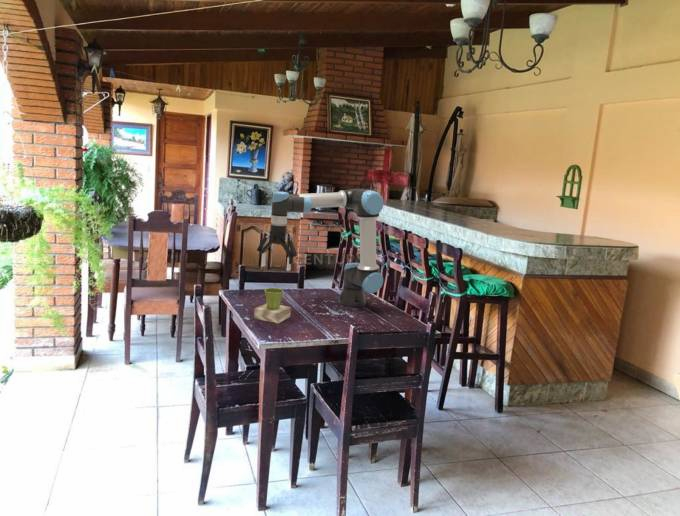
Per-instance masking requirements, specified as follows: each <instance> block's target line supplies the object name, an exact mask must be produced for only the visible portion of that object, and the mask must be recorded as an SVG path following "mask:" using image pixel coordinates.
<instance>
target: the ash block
mask: <svg viewBox="0 0 680 516" xmlns="http://www.w3.org/2000/svg"><path fill="white" fill-rule="evenodd" d="M291 309H292V307H291V306H287V305H282V304H280V307H279V309H269V308H268V307H267V303H266V302H265V303H264V304H261V305H259V306H257V307H255V308H254V312H253V313H254V314H253V319H255V320H259V321H265V322H268V323H273V322H274V324H280V323H282V322H283V321H285V320H288V319H289V318H291V312H292V311H291Z"/></svg>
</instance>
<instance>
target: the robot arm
mask: <svg viewBox="0 0 680 516" xmlns="http://www.w3.org/2000/svg"><path fill="white" fill-rule="evenodd" d="M338 207H339V208H340V209H349V210H354V211H356V217H357V219H358V220H359V262H348V263H345V265H344V268H343V272H344V273H343V284H342V285H343V286H342V290H341V292H340V295H339V296H338V301H337V302H338V304H339V305H343V306H346V307H352V308H353V307H355V308H357V307H358V308H359V307H361V308H362V307H364V306H366V297H365V293H368V294H374V293H377V292H378V291H379V290H380V289H381V288H382V287H383V284H384V277H383V275H382V274H381V273H380V266H379V265H378V264H377V219H378V218H379V217H380V213H381V212H382V210H383V209H384V198H383V197H382V195H381V194H380V193H379V192H377V191H374V190H370V189H363V188H353V189H341V190H339V191H337V192H317V193H315V192H314V193H313V192H311V193H308V192H307V193H289V192H286V191H273V193H272V199H271V213H270V214H271V216H270V223H271V224H270V227H269V228H270V229H269V232H270V233H269V232H264V234H263V238H262V239H261V242H260V243H259V246H258V247H257V249H256V252H259V253H260V260H261V265H260V267H261V268H262V267H266V262H267V261H266V260H267V252H266V251H267V250H268V249H269V248H270V247H271V246H272V245H273V244H274V245H280V246H281V247H282V248H283V249H284V251H285V253H286V254H287V258H286V259H287V260H286V261H287V262H286V272H289V271H291V269H292V268H291V267H292V265H293V263H294V262H293V261H294V257H297V256H298V253H297V250H296V248H295V246H294V242H293V236H292V235H291V236H287V224H288V213H299V214H300V213H301V214H306V213H310V212H311V210H312V209H318V208H321V209H322V208H338ZM268 239H270V240H268ZM267 241H268V242H267Z"/></svg>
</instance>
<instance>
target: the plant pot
mask: <svg viewBox="0 0 680 516" xmlns="http://www.w3.org/2000/svg"><path fill="white" fill-rule="evenodd" d="M284 292H285V291H284V289H282V288H276V287H275V288H274V287H270V288H269V287H268V288H265V289H264V293H265V294H264V295H265V299H266V301H265V304H266V303H267V307H268V308H269V309H279V307H280V305H281V302H282V297H283V295H284Z"/></svg>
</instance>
